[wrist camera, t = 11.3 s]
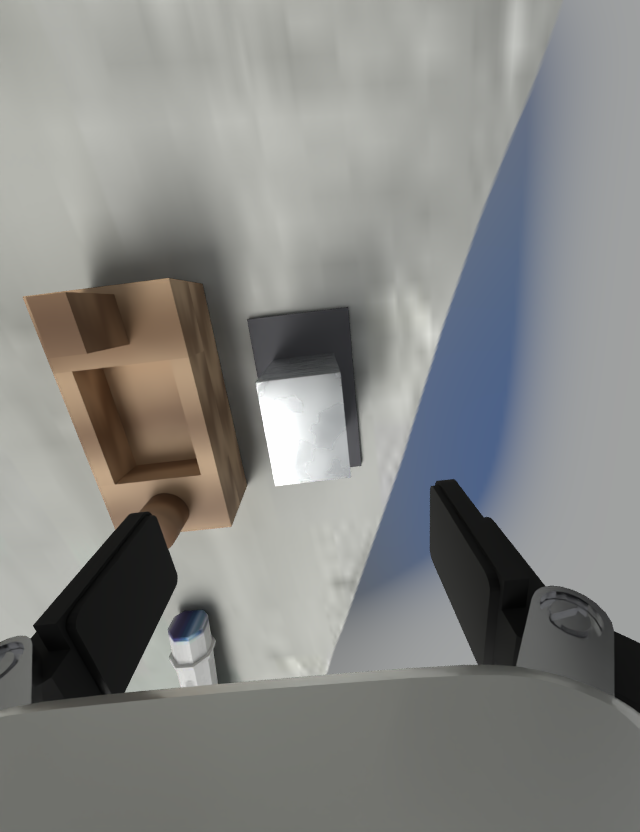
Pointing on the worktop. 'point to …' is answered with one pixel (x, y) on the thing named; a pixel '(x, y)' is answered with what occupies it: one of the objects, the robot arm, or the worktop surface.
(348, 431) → the rubber mat
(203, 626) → the electric toothbrush
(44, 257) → the worktop surface
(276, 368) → the silver block
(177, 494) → the body
